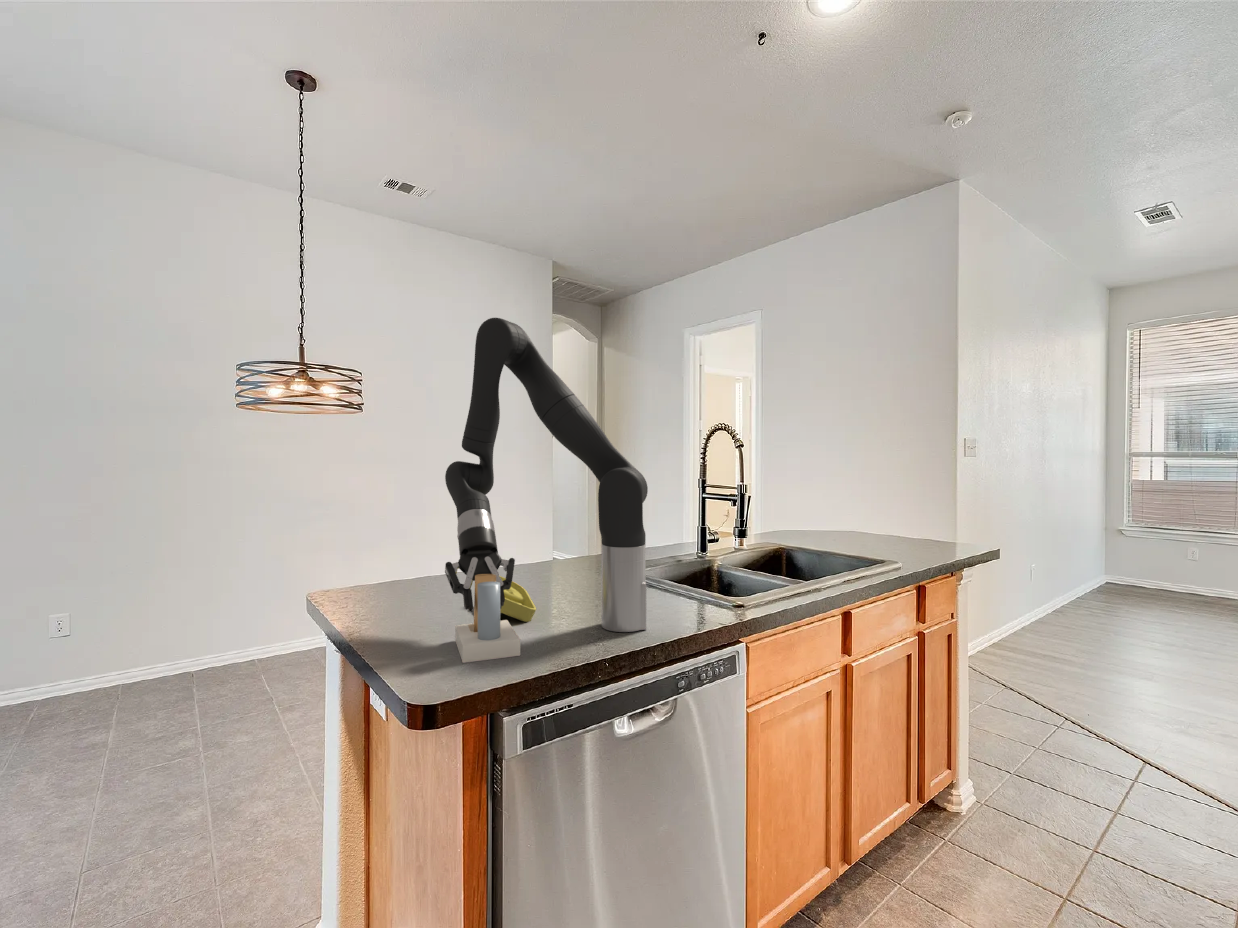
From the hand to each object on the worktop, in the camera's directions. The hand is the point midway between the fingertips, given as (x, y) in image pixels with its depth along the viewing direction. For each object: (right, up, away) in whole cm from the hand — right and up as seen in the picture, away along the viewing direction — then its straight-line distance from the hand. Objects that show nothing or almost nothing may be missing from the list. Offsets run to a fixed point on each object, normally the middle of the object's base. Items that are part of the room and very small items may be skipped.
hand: (485, 607), depth 109 cm
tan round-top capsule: (-1, -6, +2) cm, 7 cm away
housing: (+1, -7, -1) cm, 7 cm away
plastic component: (-1, -7, +23) cm, 24 cm away
